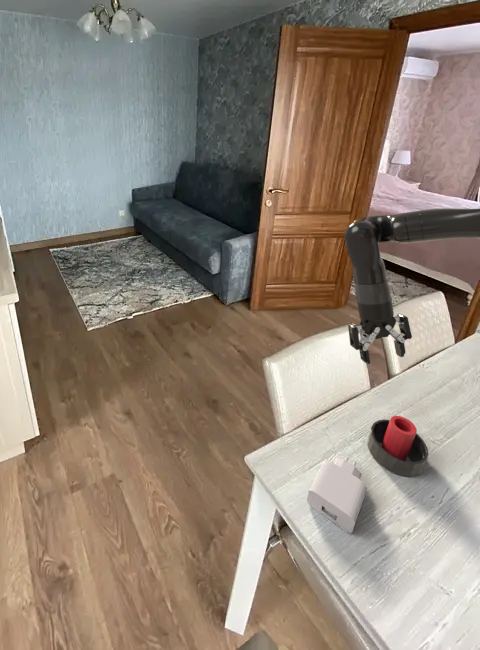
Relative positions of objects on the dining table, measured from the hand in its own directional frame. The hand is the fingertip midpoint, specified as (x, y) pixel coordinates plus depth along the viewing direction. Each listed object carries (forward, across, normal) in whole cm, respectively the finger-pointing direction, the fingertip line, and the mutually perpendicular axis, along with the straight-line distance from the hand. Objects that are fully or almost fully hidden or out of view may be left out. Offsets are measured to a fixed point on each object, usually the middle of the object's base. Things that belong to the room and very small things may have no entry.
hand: (383, 359), depth 87 cm
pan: (+23, -3, -4) cm, 23 cm away
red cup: (+22, -3, -4) cm, 23 cm away
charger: (+21, -21, -12) cm, 32 cm away
